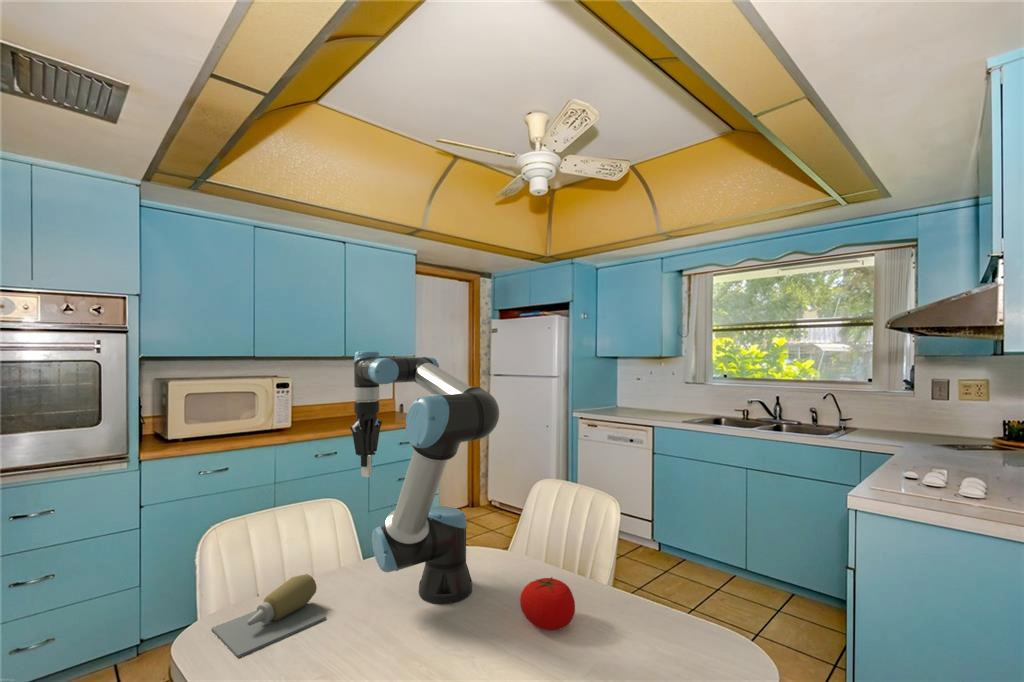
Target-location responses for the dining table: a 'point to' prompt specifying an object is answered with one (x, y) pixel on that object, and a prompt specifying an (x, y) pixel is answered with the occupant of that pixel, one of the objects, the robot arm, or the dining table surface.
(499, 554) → the dining table surface
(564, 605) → the tomato
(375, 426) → the robot arm
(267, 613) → the squeeze bottle
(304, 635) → the dining table surface
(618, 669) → the dining table surface
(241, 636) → the rubber mat
